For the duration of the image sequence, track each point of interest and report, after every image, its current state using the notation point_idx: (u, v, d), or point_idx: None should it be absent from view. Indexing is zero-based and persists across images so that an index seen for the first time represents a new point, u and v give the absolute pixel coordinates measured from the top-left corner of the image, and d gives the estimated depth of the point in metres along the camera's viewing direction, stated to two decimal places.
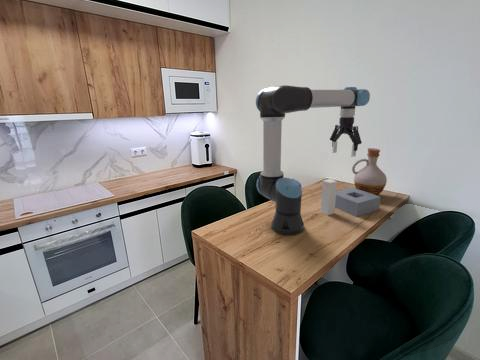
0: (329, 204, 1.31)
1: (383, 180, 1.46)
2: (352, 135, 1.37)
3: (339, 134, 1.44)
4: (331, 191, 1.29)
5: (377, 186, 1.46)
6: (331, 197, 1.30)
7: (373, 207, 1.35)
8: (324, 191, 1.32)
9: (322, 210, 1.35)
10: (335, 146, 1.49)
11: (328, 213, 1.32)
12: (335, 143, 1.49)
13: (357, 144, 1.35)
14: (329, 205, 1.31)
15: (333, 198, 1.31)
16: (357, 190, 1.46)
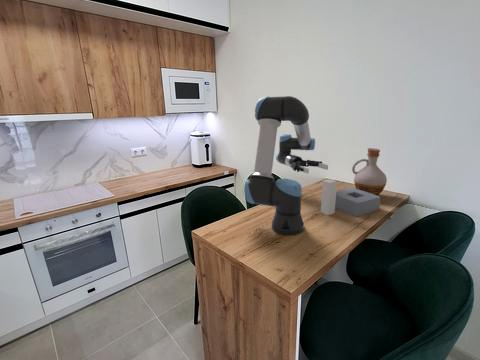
0: (329, 204, 1.31)
1: (383, 180, 1.46)
2: None
3: (299, 164, 1.45)
4: (331, 191, 1.29)
5: (377, 186, 1.46)
6: (331, 197, 1.30)
7: (373, 207, 1.35)
8: (324, 191, 1.32)
9: (322, 210, 1.35)
10: None
11: (328, 213, 1.32)
12: None
13: None
14: (329, 205, 1.31)
15: (333, 198, 1.31)
16: (357, 190, 1.46)
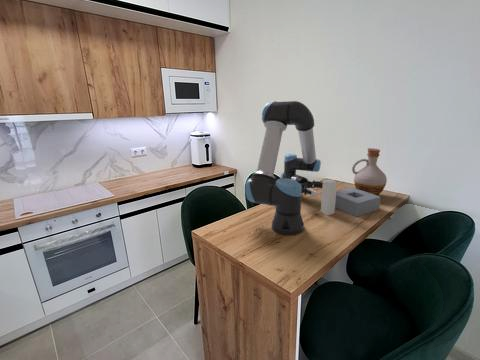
0: (329, 204, 1.31)
1: (383, 180, 1.46)
2: None
3: None
4: (331, 191, 1.29)
5: (377, 186, 1.46)
6: (331, 197, 1.30)
7: (373, 207, 1.35)
8: (324, 191, 1.32)
9: (322, 210, 1.35)
10: None
11: (328, 213, 1.32)
12: None
13: None
14: (329, 205, 1.31)
15: (333, 198, 1.31)
16: (357, 190, 1.46)
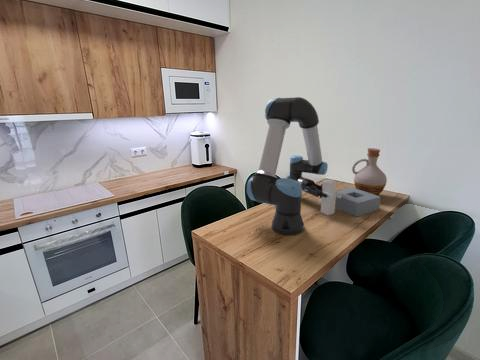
0: (329, 204, 1.31)
1: (383, 180, 1.46)
2: None
3: (316, 189, 1.38)
4: (331, 191, 1.29)
5: (377, 186, 1.46)
6: None
7: (373, 207, 1.35)
8: (324, 191, 1.32)
9: (322, 210, 1.35)
10: None
11: (328, 213, 1.32)
12: None
13: None
14: (329, 205, 1.31)
15: (333, 198, 1.31)
16: (357, 190, 1.46)
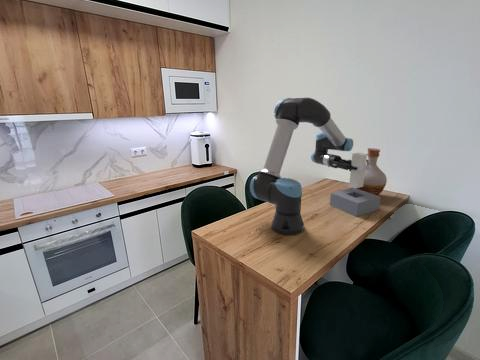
0: (359, 176, 1.33)
1: (383, 180, 1.46)
2: None
3: None
4: (361, 164, 1.32)
5: (377, 186, 1.46)
6: None
7: (373, 207, 1.35)
8: (354, 164, 1.34)
9: (351, 183, 1.38)
10: None
11: (357, 186, 1.35)
12: None
13: None
14: (359, 178, 1.34)
15: None
16: (357, 190, 1.46)
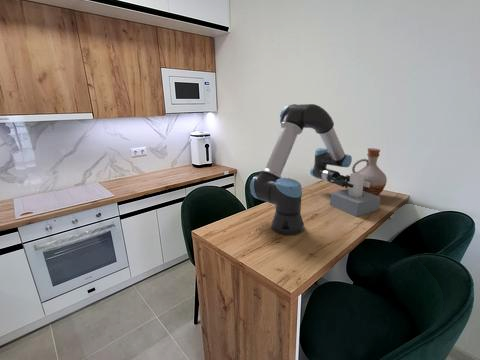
0: (357, 196, 1.37)
1: (383, 180, 1.46)
2: None
3: (342, 180, 1.43)
4: (359, 184, 1.35)
5: (377, 186, 1.46)
6: None
7: (373, 207, 1.35)
8: None
9: None
10: None
11: None
12: None
13: None
14: (356, 197, 1.37)
15: (360, 190, 1.37)
16: None
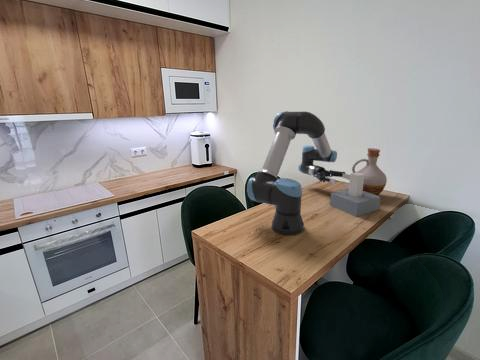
0: (357, 196, 1.37)
1: (383, 180, 1.46)
2: None
3: (324, 174, 1.53)
4: (359, 184, 1.35)
5: (377, 186, 1.46)
6: (358, 189, 1.36)
7: (373, 207, 1.35)
8: (351, 184, 1.37)
9: None
10: None
11: None
12: None
13: (344, 174, 1.55)
14: (356, 197, 1.37)
15: (360, 190, 1.37)
16: None
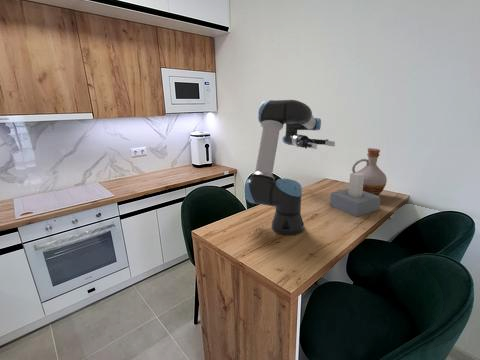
0: (357, 196, 1.37)
1: (383, 180, 1.46)
2: None
3: (307, 142, 1.49)
4: (359, 184, 1.35)
5: (377, 186, 1.46)
6: (358, 189, 1.36)
7: (373, 207, 1.35)
8: (351, 184, 1.37)
9: None
10: None
11: None
12: None
13: None
14: (356, 197, 1.37)
15: (360, 190, 1.37)
16: None
